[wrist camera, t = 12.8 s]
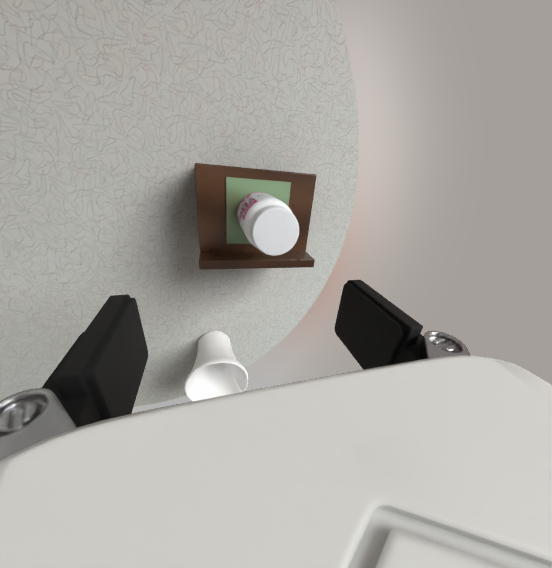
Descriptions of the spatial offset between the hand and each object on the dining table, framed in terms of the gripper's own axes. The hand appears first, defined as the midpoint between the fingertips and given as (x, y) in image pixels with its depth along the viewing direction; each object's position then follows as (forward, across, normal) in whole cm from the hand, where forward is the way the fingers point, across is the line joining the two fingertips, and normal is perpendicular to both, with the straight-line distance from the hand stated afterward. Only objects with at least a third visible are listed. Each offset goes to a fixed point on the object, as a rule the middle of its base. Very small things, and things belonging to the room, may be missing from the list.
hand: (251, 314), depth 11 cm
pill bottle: (+18, -4, -1) cm, 18 cm away
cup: (+25, +2, +22) cm, 33 cm away
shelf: (+25, -4, -1) cm, 25 cm away
